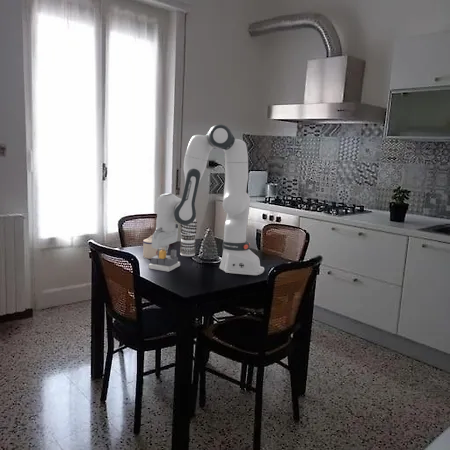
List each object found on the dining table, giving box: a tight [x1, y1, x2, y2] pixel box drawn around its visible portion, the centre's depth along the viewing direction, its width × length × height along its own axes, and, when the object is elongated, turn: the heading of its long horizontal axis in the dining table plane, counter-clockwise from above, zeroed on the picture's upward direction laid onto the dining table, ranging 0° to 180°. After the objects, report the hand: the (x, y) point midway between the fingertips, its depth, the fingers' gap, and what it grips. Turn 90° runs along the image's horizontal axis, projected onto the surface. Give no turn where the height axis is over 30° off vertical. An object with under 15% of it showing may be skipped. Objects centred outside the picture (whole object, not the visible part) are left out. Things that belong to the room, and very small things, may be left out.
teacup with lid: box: [142, 234, 158, 260], centre depth 236 cm, size 12×9×12 cm
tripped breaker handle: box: [159, 250, 167, 259], centre depth 215 cm, size 2×2×4 cm
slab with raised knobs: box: [148, 248, 181, 272], centre depth 217 cm, size 11×12×8 cm
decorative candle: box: [179, 216, 198, 257], centre depth 243 cm, size 9×9×25 cm
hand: (164, 253), depth 217 cm, fingers closed
